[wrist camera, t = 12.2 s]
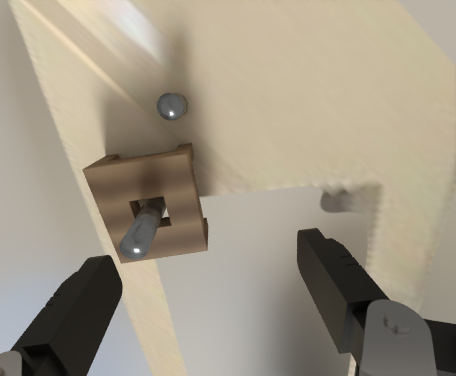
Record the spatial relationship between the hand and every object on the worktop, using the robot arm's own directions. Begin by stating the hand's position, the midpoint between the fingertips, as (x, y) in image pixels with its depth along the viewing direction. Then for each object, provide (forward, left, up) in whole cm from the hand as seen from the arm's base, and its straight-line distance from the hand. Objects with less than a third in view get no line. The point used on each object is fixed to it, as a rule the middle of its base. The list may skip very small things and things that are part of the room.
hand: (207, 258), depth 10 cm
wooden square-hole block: (+8, -10, -29) cm, 31 cm away
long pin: (+8, -10, -29) cm, 31 cm away
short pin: (-6, -4, -29) cm, 29 cm away
